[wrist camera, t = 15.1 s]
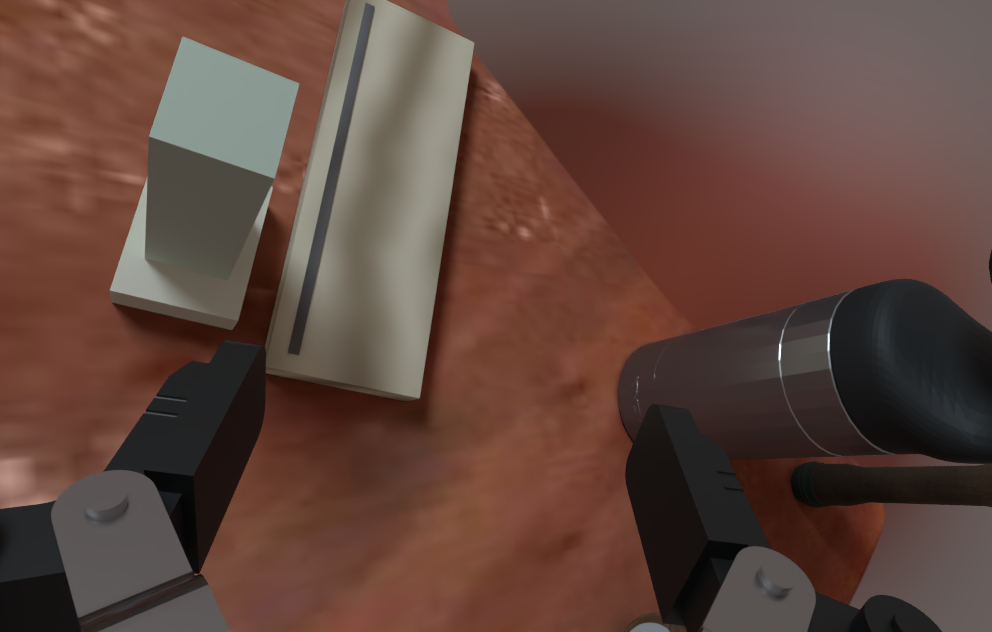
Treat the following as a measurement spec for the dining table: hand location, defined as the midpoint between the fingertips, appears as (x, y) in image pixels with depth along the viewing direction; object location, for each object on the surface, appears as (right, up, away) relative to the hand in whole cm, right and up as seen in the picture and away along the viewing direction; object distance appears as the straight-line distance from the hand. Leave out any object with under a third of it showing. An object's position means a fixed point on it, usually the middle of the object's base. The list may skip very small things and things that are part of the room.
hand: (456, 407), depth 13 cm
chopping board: (-7, +10, +29) cm, 31 cm away
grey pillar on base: (-16, +6, +22) cm, 28 cm away
